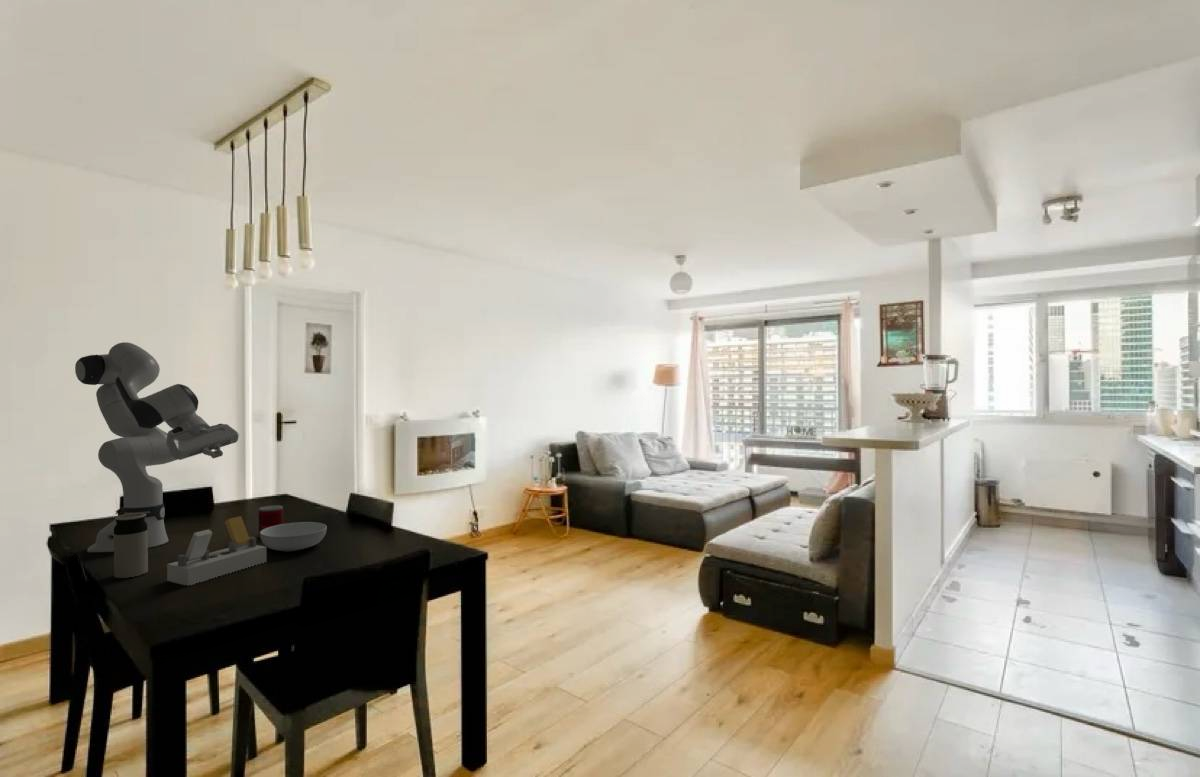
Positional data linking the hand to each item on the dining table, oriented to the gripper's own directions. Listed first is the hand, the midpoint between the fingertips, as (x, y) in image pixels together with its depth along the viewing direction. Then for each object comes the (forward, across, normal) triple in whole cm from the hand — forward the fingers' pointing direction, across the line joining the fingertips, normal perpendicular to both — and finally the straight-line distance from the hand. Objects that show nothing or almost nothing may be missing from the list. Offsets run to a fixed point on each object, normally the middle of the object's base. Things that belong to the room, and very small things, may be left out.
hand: (218, 455), depth 197 cm
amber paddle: (+29, +8, -11) cm, 32 cm away
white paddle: (+28, +22, -8) cm, 37 cm away
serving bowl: (+33, -10, -22) cm, 41 cm away
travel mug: (+14, +31, -24) cm, 42 cm away
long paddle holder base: (+32, +17, -14) cm, 39 cm away
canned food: (+16, -14, -35) cm, 41 cm away
